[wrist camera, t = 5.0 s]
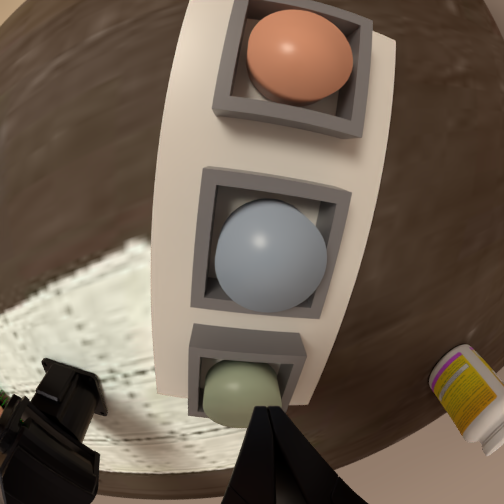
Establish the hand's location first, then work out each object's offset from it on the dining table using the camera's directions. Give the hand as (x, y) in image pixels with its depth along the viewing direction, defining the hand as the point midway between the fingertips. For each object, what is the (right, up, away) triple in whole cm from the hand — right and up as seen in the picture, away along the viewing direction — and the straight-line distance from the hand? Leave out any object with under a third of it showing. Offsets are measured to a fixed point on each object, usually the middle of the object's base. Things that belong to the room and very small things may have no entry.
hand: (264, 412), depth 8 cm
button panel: (0, +6, +9) cm, 11 cm away
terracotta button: (+2, +15, +4) cm, 16 cm away
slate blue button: (0, +6, +6) cm, 8 cm away
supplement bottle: (+22, -8, +16) cm, 28 cm away
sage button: (-1, -4, +10) cm, 10 cm away
